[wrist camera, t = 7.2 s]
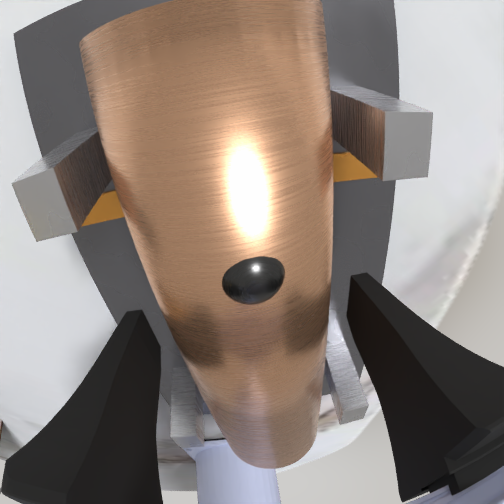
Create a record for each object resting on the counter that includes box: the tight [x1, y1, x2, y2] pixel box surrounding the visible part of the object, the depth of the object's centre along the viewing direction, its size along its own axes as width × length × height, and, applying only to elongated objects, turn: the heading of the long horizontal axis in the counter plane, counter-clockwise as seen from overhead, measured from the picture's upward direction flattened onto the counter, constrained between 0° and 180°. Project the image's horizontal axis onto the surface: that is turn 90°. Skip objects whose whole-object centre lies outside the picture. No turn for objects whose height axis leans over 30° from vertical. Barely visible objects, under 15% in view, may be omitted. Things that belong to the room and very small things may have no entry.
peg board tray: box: [12, 0, 433, 448], centre depth 11 cm, size 22×12×5 cm, turn 7°
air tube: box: [79, 0, 333, 469], centre depth 10 cm, size 18×5×5 cm, turn 7°
